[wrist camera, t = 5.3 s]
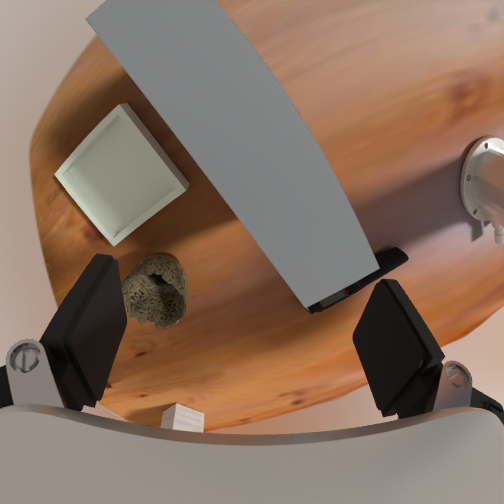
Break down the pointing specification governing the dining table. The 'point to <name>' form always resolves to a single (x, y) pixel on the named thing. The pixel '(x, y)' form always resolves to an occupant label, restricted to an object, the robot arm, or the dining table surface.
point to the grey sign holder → (241, 136)
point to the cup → (156, 290)
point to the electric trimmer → (363, 279)
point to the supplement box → (182, 419)
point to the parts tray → (121, 175)
